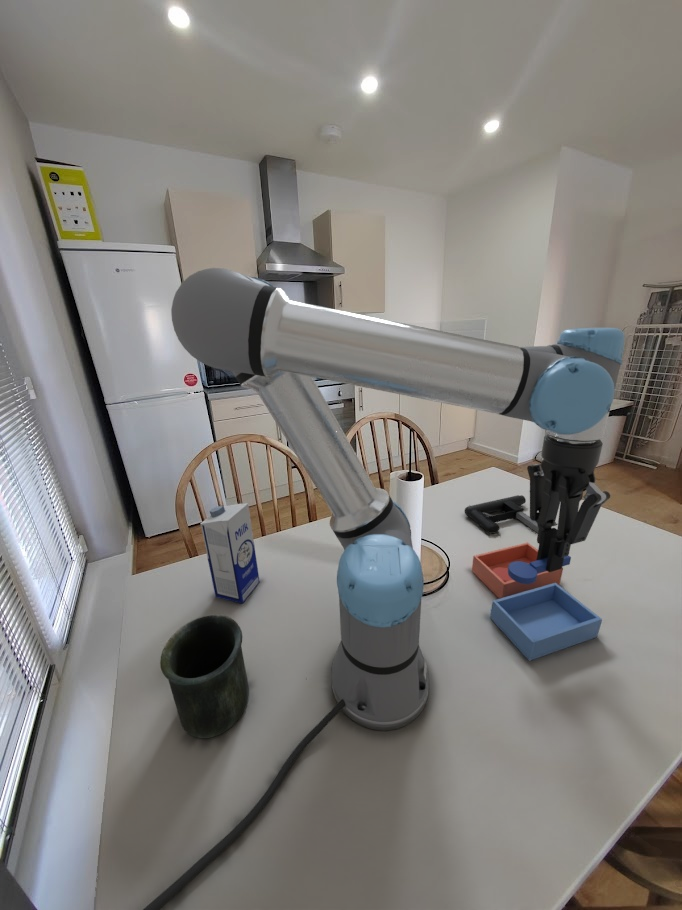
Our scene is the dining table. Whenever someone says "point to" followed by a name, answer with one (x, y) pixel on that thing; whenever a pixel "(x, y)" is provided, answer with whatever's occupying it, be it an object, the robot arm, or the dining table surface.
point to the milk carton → (231, 552)
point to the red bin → (503, 558)
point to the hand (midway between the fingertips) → (548, 565)
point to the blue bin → (544, 620)
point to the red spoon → (502, 573)
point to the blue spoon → (530, 570)
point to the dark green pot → (207, 674)
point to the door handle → (507, 506)
